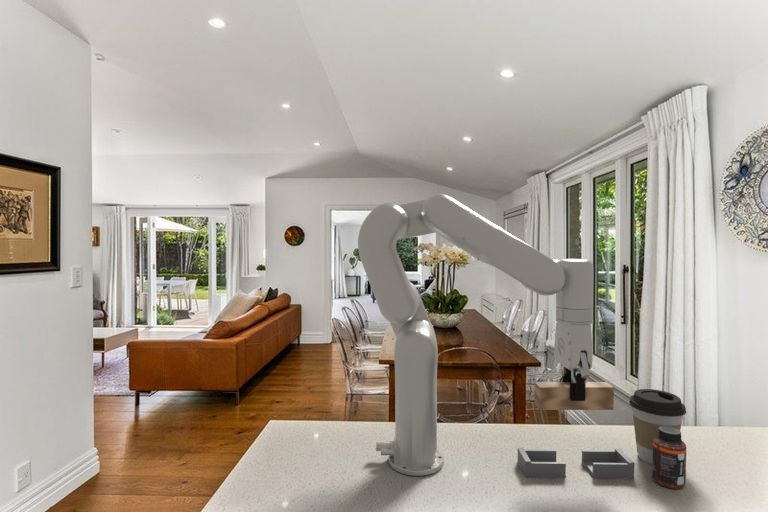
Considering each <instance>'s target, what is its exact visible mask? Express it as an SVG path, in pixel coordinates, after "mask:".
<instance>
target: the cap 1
mask: <svg viewBox="0 0 768 512" xmlns="http://www.w3.org/2000/svg"><path fill="white" fill-rule="evenodd" d="M517 464H518V466H519V468H520V469H521V471H522V473H523V475H524V477H525V478H526V477H527V478H529V477H530V478H566V475H567V474H566V470H567V469H566V466H567V463H566V462H565V461H561V462H560V461H557V449H524V447H517Z"/></svg>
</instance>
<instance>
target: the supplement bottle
mask: <svg viewBox="0 0 768 512" xmlns="http://www.w3.org/2000/svg"><path fill="white" fill-rule="evenodd" d="M658 434H659V435H658V436H656V437H654V439H653V463H652V464H651V465H652V467H651V468H652V469H651V475H652V479H653V480H654V481H655V482H656V483H657V484H659V485H660V486H662V487H665V488H668V489H673V490H681V489H683V488H684V487H685V486H686V481H687V479H686V476H687V445H686V444H687V443H685V442H684V441H683V440H682V431H681V430H680V431H679V430H678V429H676V428H672V427H667V426H662V427H659V432H658Z"/></svg>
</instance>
